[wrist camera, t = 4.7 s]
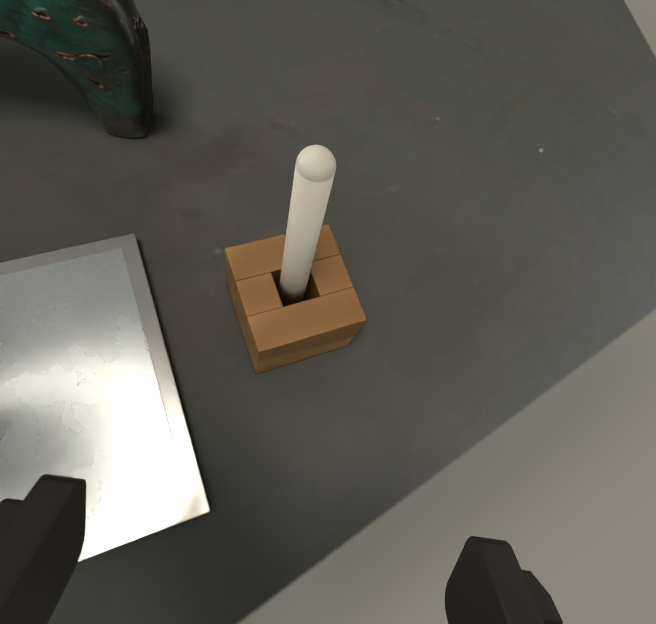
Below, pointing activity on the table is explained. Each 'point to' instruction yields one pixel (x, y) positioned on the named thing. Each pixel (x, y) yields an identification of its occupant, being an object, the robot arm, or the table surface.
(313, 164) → the stylus
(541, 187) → the table surface
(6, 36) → the ceramic cat
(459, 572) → the robot arm
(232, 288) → the holder
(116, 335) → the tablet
